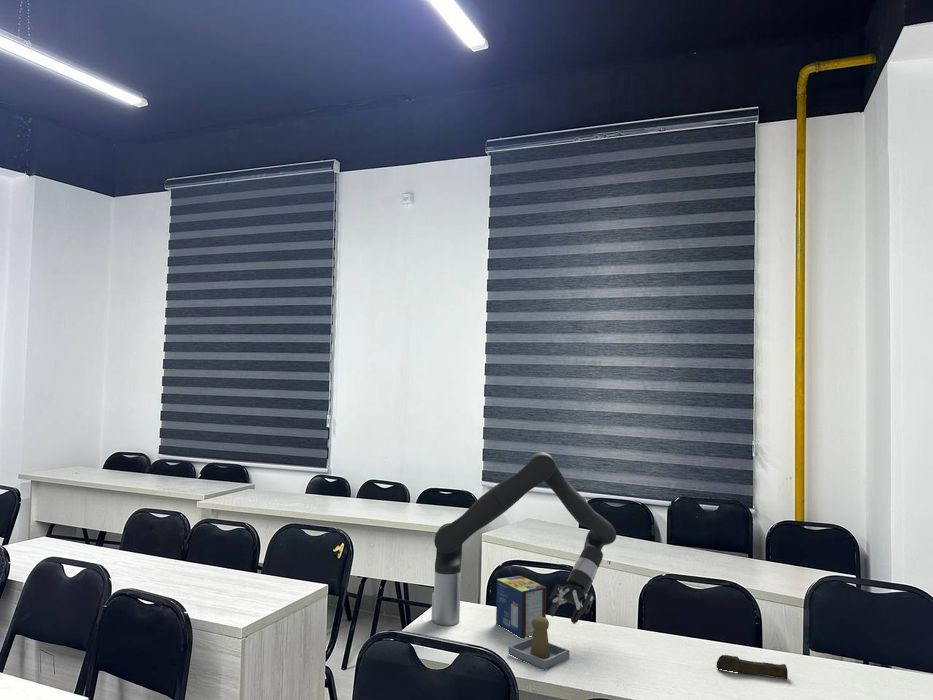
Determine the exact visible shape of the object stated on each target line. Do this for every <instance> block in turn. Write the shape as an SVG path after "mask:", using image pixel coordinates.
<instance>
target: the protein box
mask: <svg viewBox="0 0 933 700" xmlns="http://www.w3.org/2000/svg"><path fill="white" fill-rule="evenodd" d="M495 601H496V604H495V605H496V611H495V613H496V615H495V625H497V624H498V625H500V626H501V627H500V626H499V627H500V628H502V627H503V628H505V629H507V630H509V631H510V632H512V633H513V634H515V635H517V636H518V637H520V638H523V639H526V638H525V637H528V638H530V637H529V636H532V637H533V630H534V628H533V627H532V620H533V619H534V618H535V617H545V618H546V619H547V614H546V613H547V587H546V586H545V585H542V584H540V583H538V582H536V581H533V580H531V579H529V578H527V577H524V576H522V575H516V576H515V575H514V576H509V577H502V578H497V579H496V600H495ZM498 625H497V626H498ZM503 628H502V629H503ZM505 629H504V630H505ZM507 630H506V631H507ZM510 632H509V633H510ZM512 633H511V634H512ZM513 634H512V635H513ZM515 635H514V636H515ZM517 636H516V637H517ZM518 637H517V638H518ZM520 638H519V639H520Z"/></svg>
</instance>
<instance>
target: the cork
mask: <svg viewBox="0 0 933 700" xmlns="http://www.w3.org/2000/svg"><path fill="white" fill-rule="evenodd" d="M549 622H550V621H549V620H548V618H547V617H546V618H545V617H535V618H534V619H533V620H532V627H533V628H534V630H533V636H532V637H531V638H532V645H531V652H530V654H531V655H533V656H536V657H538V658H541V659H547V658H549V657H550V651H549V643H550V642H549V637H548V636H549V635H548V630H549V627H550V623H549Z"/></svg>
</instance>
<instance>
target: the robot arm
mask: <svg viewBox="0 0 933 700" xmlns="http://www.w3.org/2000/svg"><path fill="white" fill-rule="evenodd" d="M542 483H545V484H546V485H547V486H548V488H550V489H551V490H552V491H553V492H554V494H555V495H556V497H557V498H558V499H559V500H560V502H561V503H562V505H563V506H564V507H565V508H566V510H567V512H568V513H569V514H570V515H571V516H572V517H573V518H574V519H575V521H576V522H577V523H578V525H580V526H582V527H587V528H588V529H589V530H588V532H587V534H586V537H585V540H584V541H585V542H584V545H583V546H584V547H583V550H582V551H581V554H580V555H579V557H578V559H577V560H576V562H575V564H574V566H573V568H572V570H571V571H570V573H569V576H568V578H567V580H566V584H565V585H564V586H562V585H560V584H559V583H557V584H556V585H555V586H554V588H553V590H552V592H551V593H550V596H549V597H548V598H549V601H550V602H551V605H550V608H549V609H548V614H549V616H551V617H555V615H556V613H557V610H558V609H559V607H560V605H564V604H566V603H568V604H572V605H575V607H576V609H575V610H574V612H573V614H572V617H571V618H570V621H571V623H572V624H574V625H576V623H578V622H579V620H580V618H581V615H583V614H586V615H588V614H589V613H590V611H591V607H592V605H593V602H594V599H595V598H594V596H593V595H592V593H591V592H589V590H590V588H591V586H592V584H593V583H594V579H595V577H596V575H597V572H598V570H599V567H600V566H601V563H602V561H603V558H604V553H603V552H602V550H603V548H604V546H606V545H607V546H608V545H611V544H613V543H614V542H615V541H616V538H617V532H616V529H615V527H614V526H613V525H612V523H610V522H609V520H607V519H605V518H604V517H603V516H602V515H601V514H599V513H598V512H596V511H595V510H594V509H593V507H592V506H591V505H590V504H589V503H588V501H587V500H586V499H585V498H584V497H583V496H582V495H581V494H580V493H579V492H578V491H577V490H576V489H575V488H574V486H572V485H571V483H570V482H569V481H568V480H567V479H566V477H565V476H564V475H563V474H562V472H561V471H560V469H559V468H558V466H557V463H556V461H555V460H554V458H553V456H552V455H551V454H549V453H548V452H545V451H538V452H535V453H534V454H533V455H532V456H531V457H530V458H529V461H528V463H526V465H524V466H523V468H521V469H520V470H519V471H518V472H517V473H515V474H514V475H513V476H510V477H509V478H507V479H505V480H503V481H501V482H500V483H498V484H496V485H495V486H493V487H492V488H490V489H489V490H488V491H486V492H485V493H484V494H483V495H481V496H479V498H478V499H477V500H476V501H475V502H474V503H473V504H471V506H470V507H469V508H468V509H467V510H466V511H465V512H464V513H463V514H462V515H461V516H459V517H458V518H457V519H455V520H453V521H452V522H447V523H444V524H442V525H441V526H440V527H439V528H438V530H437V531H436V533H435V535H434V546H435V550H436V551H435V552H436V554H435V562H434V583H433V585H434V588H433V589H434V591H432V593H431V618H430V619H431V621H433V622H434V624H436V625H439V626H454V625H457V624H459V623H460V614H461V613H460V611H461V609H460V608H461V579H462V578H461V577H462V576H461V572H462V571H461V569H462V561H463V560H462V559H463V558H462V555H463V544H464V543H465V542H466V541H467V540H468V539H469V538H470V537H471V536H473V535H474V534H475V533H476V532H478V531H479V530H481V529H482V528H484V527H485V526H487V525H489V524H490V523H492V522H493V521H495V520H496V519H498V518H499V517H500V516H502V515H503V514H504V513H506V512H507V511H508V510H509V509H511V508H512V507H513V506H514V505H515V504H516V503H517V502H518V501H520V500H521V499H522V498H523V497H524V496H525V495H526V494H527V493H528V492H530V491H531V490H533V489H534V488H536V487H537V486H539V485H540V484H542ZM582 601H584V602H582Z"/></svg>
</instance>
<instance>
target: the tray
mask: <svg viewBox="0 0 933 700" xmlns="http://www.w3.org/2000/svg"><path fill="white" fill-rule="evenodd" d="M531 645H532V637H528V638H526V639H524V640H522V641H521V642H517V643H514V644H512V645H510V646H508V654H510V655H512V656H514V657H516V658H518V659H520V660H522V661H521V662H523V661H525V662H527V663H526V664H528V663H529V664H528V665H530V664H531V665H530V666H532V667H535V668H538V669H540V670H543V671H548V670H549V669H551V668H554V667H555V666H558V665H560V664H562V663H564V662H566V661H568V660H570V650H569V649H567V648H564V647H562V646H559V645H557V644H553V643H551V642H549V651H550V657H549V658H547V659H541V658H538V657H536V656H533V655H531V654H530V652H531ZM518 659H517V660H518ZM520 660H519V661H520ZM525 662H524V663H525Z"/></svg>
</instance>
